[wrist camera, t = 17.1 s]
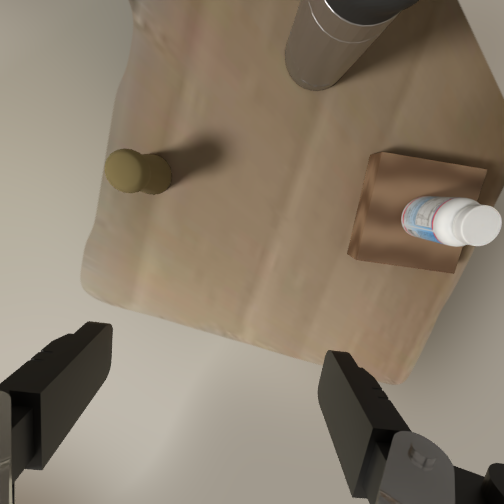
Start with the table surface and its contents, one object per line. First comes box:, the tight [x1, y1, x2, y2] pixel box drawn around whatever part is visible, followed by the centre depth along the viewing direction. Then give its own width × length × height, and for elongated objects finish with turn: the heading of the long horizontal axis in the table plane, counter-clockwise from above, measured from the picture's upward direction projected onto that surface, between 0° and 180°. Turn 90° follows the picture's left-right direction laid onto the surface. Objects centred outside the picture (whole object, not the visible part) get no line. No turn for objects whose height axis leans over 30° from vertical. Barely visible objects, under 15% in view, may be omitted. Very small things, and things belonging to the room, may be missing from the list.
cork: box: [105, 149, 172, 195], centre depth 38 cm, size 6×6×11 cm
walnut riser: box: [347, 152, 487, 274], centre depth 44 cm, size 16×16×4 cm
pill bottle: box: [401, 196, 502, 247], centre depth 37 cm, size 6×6×11 cm
